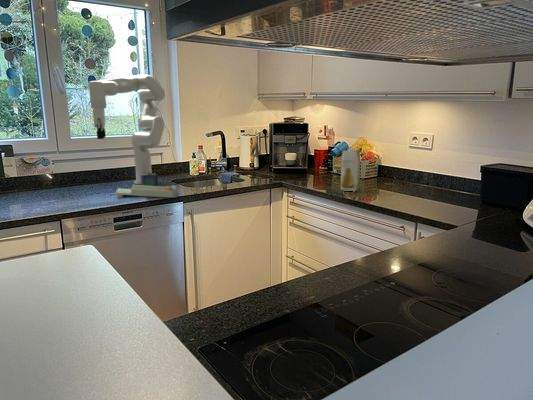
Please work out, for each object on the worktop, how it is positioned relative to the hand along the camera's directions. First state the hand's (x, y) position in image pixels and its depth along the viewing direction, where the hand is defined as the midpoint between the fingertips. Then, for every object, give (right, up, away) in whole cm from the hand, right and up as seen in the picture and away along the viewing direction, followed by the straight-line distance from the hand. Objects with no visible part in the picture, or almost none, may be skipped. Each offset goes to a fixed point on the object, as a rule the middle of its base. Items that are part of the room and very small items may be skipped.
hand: (101, 138), depth 218 cm
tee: (+5, -33, -8) cm, 34 cm away
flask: (+21, -28, +16) cm, 38 cm away
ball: (+37, -29, +1) cm, 47 cm away
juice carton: (+135, -28, +11) cm, 139 cm away
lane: (+24, -32, -2) cm, 40 cm away
